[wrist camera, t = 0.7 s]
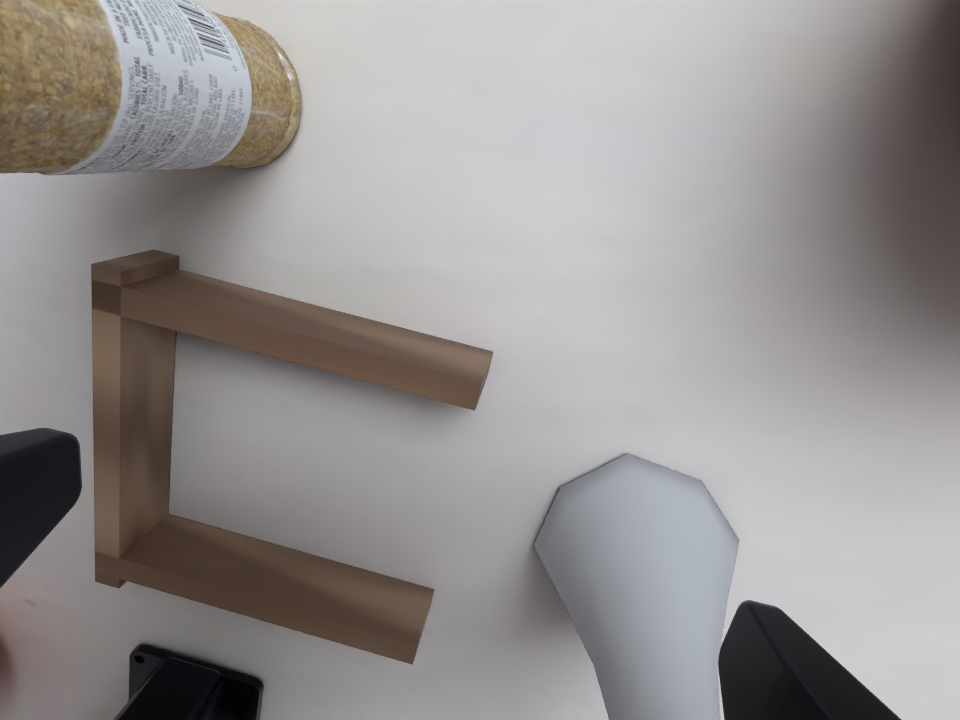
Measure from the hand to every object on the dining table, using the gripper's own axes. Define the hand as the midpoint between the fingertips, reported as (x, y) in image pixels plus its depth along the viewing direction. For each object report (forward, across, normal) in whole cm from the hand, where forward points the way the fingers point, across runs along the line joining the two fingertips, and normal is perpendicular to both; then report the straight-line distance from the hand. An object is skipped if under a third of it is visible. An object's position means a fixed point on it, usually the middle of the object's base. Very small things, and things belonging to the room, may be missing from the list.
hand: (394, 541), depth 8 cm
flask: (+14, -7, +8) cm, 17 cm away
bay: (+14, +6, +8) cm, 17 cm away
